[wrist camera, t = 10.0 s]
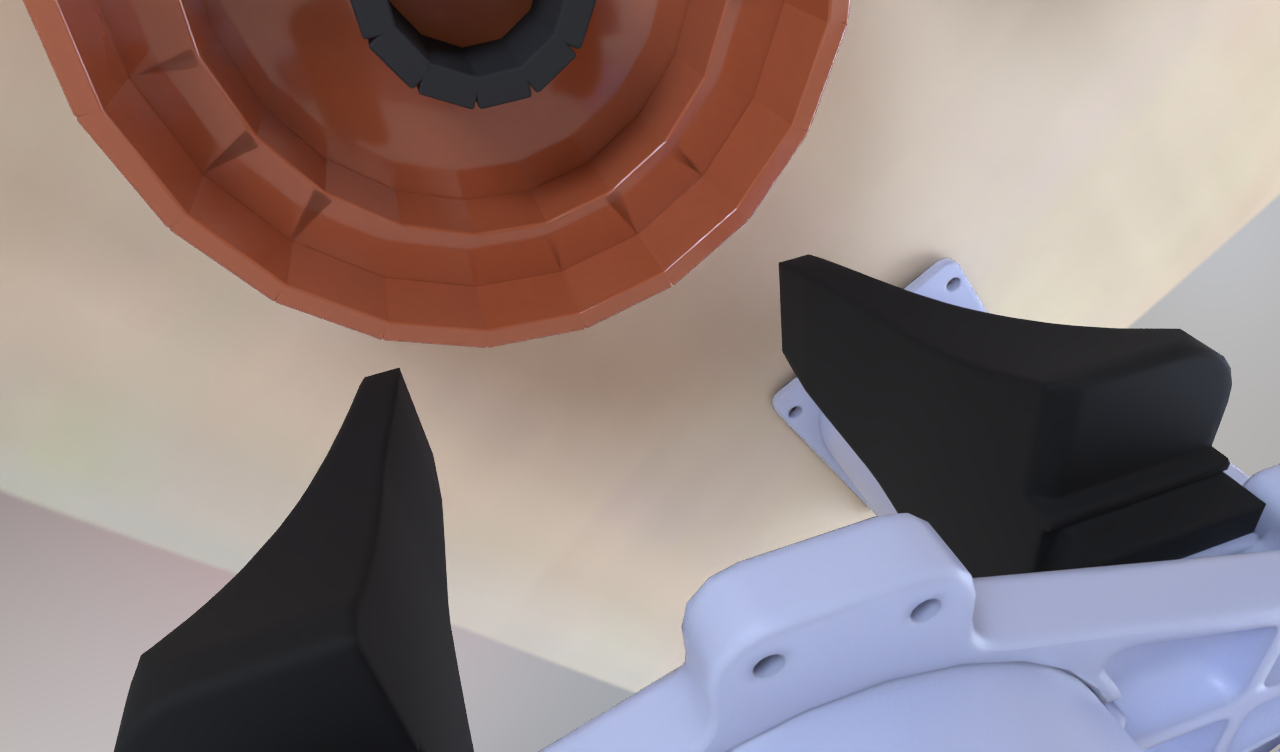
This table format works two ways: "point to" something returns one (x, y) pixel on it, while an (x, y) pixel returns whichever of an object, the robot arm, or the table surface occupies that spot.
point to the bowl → (446, 150)
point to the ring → (478, 52)
